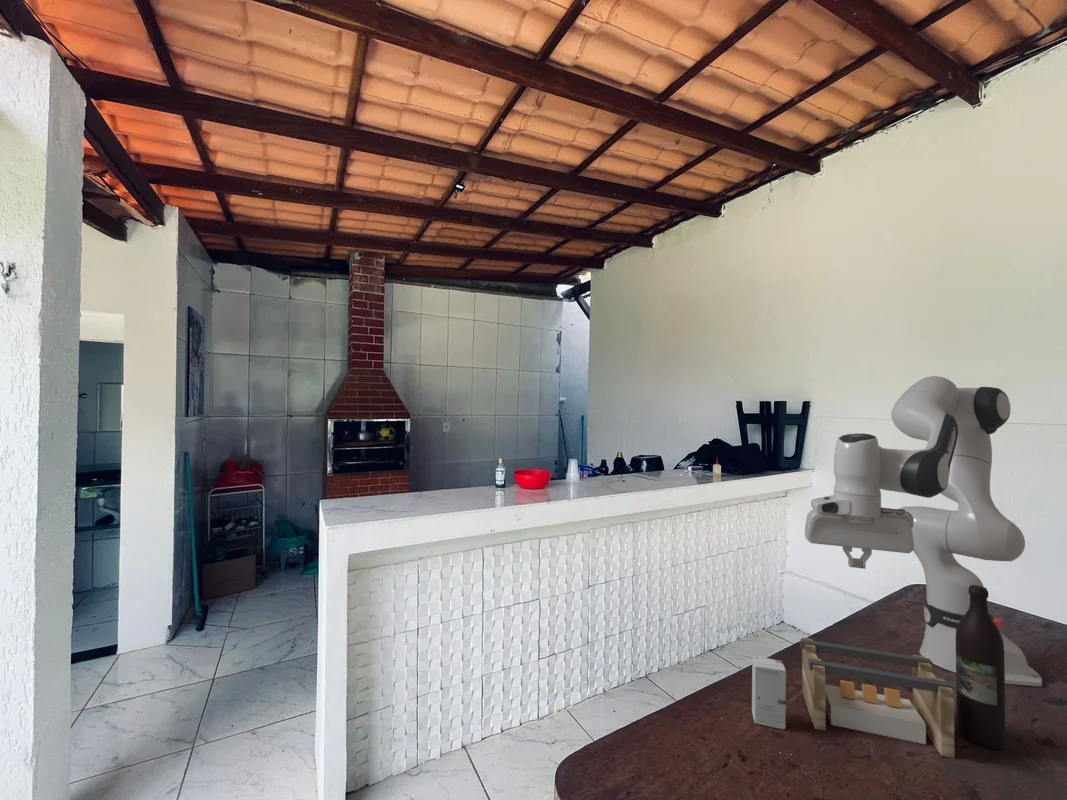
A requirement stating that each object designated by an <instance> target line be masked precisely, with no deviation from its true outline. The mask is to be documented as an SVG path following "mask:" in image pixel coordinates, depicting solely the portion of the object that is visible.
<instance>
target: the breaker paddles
mask: <svg viewBox="0 0 1067 800" xmlns="http://www.w3.org/2000/svg"><path fill="white" fill-rule="evenodd" d="M839 687H840V689H841V696H842V697H846V698H851V699H855V690H856V689H855V683H854V682H853V681H850V680H849V681H848V680H842V679H839ZM883 689H884V691H883V692H884V695H885V703H886V705H889V706H894V707H899V708H901V700H900V698H901V693H900V690H898V689H893V688H888V687H884V688H883ZM861 691H862V694H863V700H864V701H867V702H873V703H878V698H877V694H878V689H877V686H876V685H871V684H864V683H861Z"/></svg>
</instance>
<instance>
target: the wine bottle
mask: <svg viewBox="0 0 1067 800" xmlns="http://www.w3.org/2000/svg"><path fill="white" fill-rule="evenodd" d="M969 594H970V606H969V609H968V611H967V613H966V614H965V615H964V616H963V618H962V619H961V620H960V622H959V623H958V626H957V629H956V673H955V686H956V687H955V688H956V689H955V690H956V691H955V693H956V695H955V696H956V697H955V698H956V700H955V701H956V729H957V731H958V733H959V734H960V735H961V736H962V737H963V738H964V739H966V740H967V741H969V742H970V743H973V744H975V745H977V746H980V747H982V748H986V749H989V750H1003V749H1004V748H1005V746H1006V744H1007V742H1006V740H1007V739H1006V736H1007V735H1006V731H1007V730H1006V729H1007V727H1006V684H1005V665H1004V643H1003V640H1002V636H1001V634H1002V633H1001V632H1000V630H999V628H997V626H996V625H995V623H994V622H993V620H992V618H991V616H990V615H989V614H990V613H989V608H988V598H989V591H988V588H986V587H985V586H983V587H982V586H977V585H970V587H969Z"/></svg>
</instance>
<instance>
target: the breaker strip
mask: <svg viewBox="0 0 1067 800" xmlns="http://www.w3.org/2000/svg"><path fill="white" fill-rule="evenodd" d="M877 698H878V703H873V702H867V701H864V700H863V694H862V690H858V689H855V699H851V698H846V697H842V696H841V689H840V686H836V685H830V684H825V708H826V715H827V717H828V720H829V723H830V725H832V726H835V727H839V728H846V729H850V730H855V731H859V732H865V733H870V734H873V735H879V736H882V737H883V736H884V737H887V738H888V737H889V738H892V739H897V738H898V740H902V741H903V740H904V741H907V740H908V742H913V743H917V742H918V744H922V745H927V733H926V724H925V722H924V721H923V719H922V718H921V716H920V715H919V713H918V712H917V710H916V709H915V707H914V706H913V702H911V700H910V699H907V698H903V697H902V698H901V697H900V700H901V708H899V707H894V706H889V705H886V703H885V694H880V693H877Z"/></svg>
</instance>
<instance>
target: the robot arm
mask: <svg viewBox="0 0 1067 800" xmlns="http://www.w3.org/2000/svg"><path fill="white" fill-rule="evenodd" d="M891 409H892V410H891V413H890V414H891V420H892V422H893V424H894V426H895V427H896V428H897V429H898V431H900V432H902V434H904V435H906V436H907V437H910V438H912V439H915V440H922V441H925V442H927V443H926V446H925V448H922V449H916V450H915V449H914V450H913V449H897V448H896V449H895V448H884V447H882V446H880V445H879V441H878V437H877V436H875V435H873V434H870V433H848V434H844V435H843V434H842V435H841V436H839V437H838V438H837V440H836V443H835V447H834V454H833V474H834V477H835V483H834V487H833V494H832V495H831V494H830V495H825V496H821V497H818V498H817V497H816V498H813V499H811V501H810V505H811V508H812V509H810V510H809V512H808V513H807V515H806V519H805V525H804V526H805V527H804V536H805V539H806V541H808V542H809V543H810V544H816V545H824V546H835V547H842V551H843V552H844V554H845V555H846V557H847V560H848V561H847V562H848V563H847V564H848V566H849V568H855V569H856V568H857V569H864V570H866V567H867V564H866V562H868V560H869V559H870V558H871V556H872V555H873V553H872V551H873V550H875V551H881V552H883V551H884V552H890V553H891V552H893V553H901V554H902V553H903V554H911V553H912V552H913V553H914V554H915V556H916V557H917V559H918V561H919V562H920V564H921V566H922V568H923V573H924V577H925V587H926V588H925V589H926V599H925V600H924V609H923V615H924V616H923V617H924V622H925V630H924V635H923V640H922V643H921V646H920V648H919V651H918V652H919V654H920V656H924V657H925V658H929V659H930V660H931V661H932V662H933V665H936V666H938V667H939V668H942V669H944V670H947V671H950V672H952V673H955V674H956V629H957V626H958V623H959V622H960V620H961V619H962V618H963V616H964V615H965V614H966V613H967V611H968V609H969V606H970V594H969V587H970V585H977V586H982V587H984V584H983V581H981V579H980V578H979V576H978V575H977V574H976V573H974V572H973V571H971V570H970V569H968V568H966V567H964V566H963V565H962V564H960V562H958V561H957V559H956V558H955V557H954V555H958V556H964V557H970V558H974V559H979V560H984V561H995V562H1013V561H1016V559H1018V558H1020V557H1021V555H1022V554H1023V553H1024V550H1025V547H1026V540H1025V536H1024V534H1023V532H1022V530H1021V529H1020V527H1018V526H1017V525H1016V524H1015V522H1013V521H1011V520H1010V519H1008V518H1007V517H1006V516H1004V514H1002V513H1001V511H1000V510H999V509H998V508H997V507H996V505H995V503H994V501H993V499H992V495H991V474H992V463H993V449H992V446H993V445H992V440H991V439H992V438H991V436H990V435H992V434H995V433H996V432H997V430H998V429H999V428H1001V427H1002V426H1003V425H1004V424H1005V423H1006V422H1007V421H1008V420H1009V418H1010V416H1011V415H1010V414H1011V402H1010V399H1009V397H1008V395H1007V393H1006V392H1004V391H1003V390H1002V389H1001V388H998V387H992V386H980V387H957V386H956V384H955V383H954V382H953V381H951V380H950V379H948V378H946V377H942V376H937V375H936V376H935V375H934V376H933V375H932V376H927V377H923V378H921V379H919V380H918V381H916V382H915V383H914V384H912V385H911V386H910V387H909V388H908V389H906V390H905V391H904V392H903V393H902V395H901V396H900V397H899V398H898V399H897V401H896V402H895V403H894V404H893V407H892V408H891ZM881 490H883V491H887V492H888V491H889V492H895V493H896V492H897V493H903V494H908V495H912V496H913V495H914V496H916V497H917V496H918V497H923V498H927V499H930V498H934V497H936V496H938V495H940V494H941V495H942V496H944V497H945V498H947V499H950V500H951V501H954V503H957V504H958V508H957V509H956V510H951V509H950V510H949V509H943V508H938V507H930V506H922V505H921V506H919V505H918V506H913V505H912V506H902V507H901V508H890V507H882V491H881ZM853 548H855V549H861V552H863V553H862V554H861V556H860V558H855V557H853V556H852V554H851V553H852V552H853ZM989 615H990V616H991V618H992V620H993V622H994V623H995V625H996V626H997V628H998V629H1002V628H1003V627H1004V626H1005V624H1004V622H1003V620H1001V619H1000V618H998V617H996V616H993V615H992V614H991V613H989ZM1001 636H1002V640H1003V643H1004V665H1005V685H1006V684H1007V685H1017V686H1029V687H1043V679H1042V677H1041V676H1040V674H1039V673H1038V672H1037V671H1036V670H1034V669H1033V668H1032V667H1031V666H1030V665H1028V660H1027V658H1026V655H1025V653H1024V652H1023V650H1022V649H1021V648H1020V647H1019V646H1018V645H1016V644H1015V643H1014V642H1013V641H1012V640H1011V639H1009V638H1008V637H1007V636H1006V635H1004V634H1003V633H1001Z"/></svg>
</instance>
